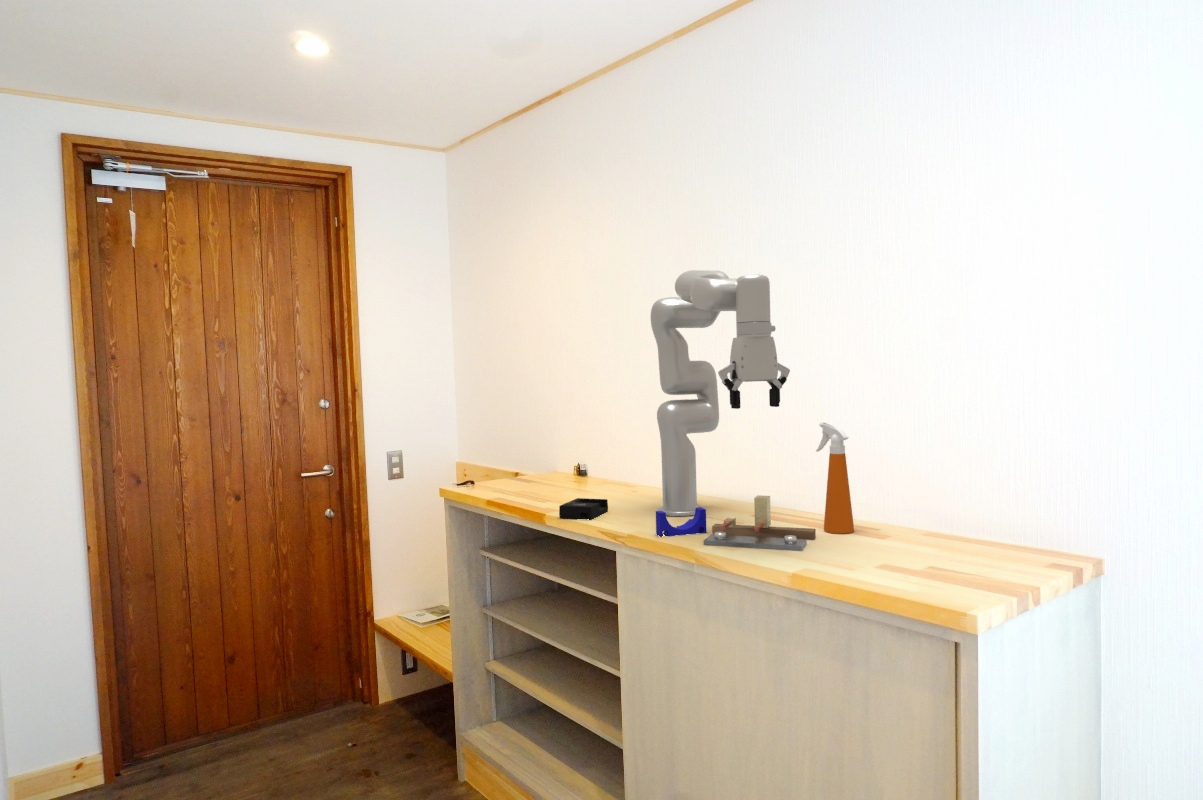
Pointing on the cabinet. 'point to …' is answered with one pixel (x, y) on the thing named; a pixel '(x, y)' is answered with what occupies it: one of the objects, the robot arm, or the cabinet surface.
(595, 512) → the battery charger
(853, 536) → the cabinet surface
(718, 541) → the bolt plate
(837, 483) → the spray bottle
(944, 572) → the cabinet surface
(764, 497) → the slider
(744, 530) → the beam
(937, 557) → the cabinet surface
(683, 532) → the cable clip
